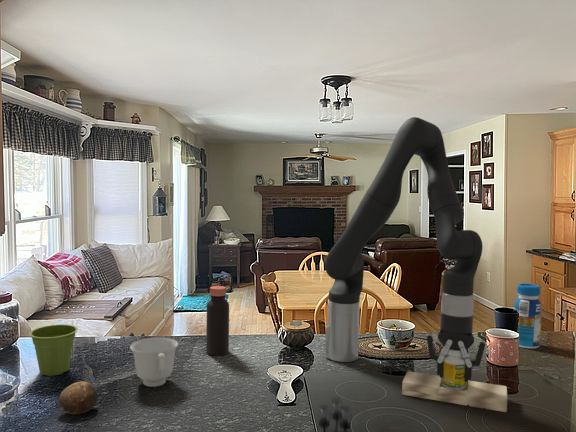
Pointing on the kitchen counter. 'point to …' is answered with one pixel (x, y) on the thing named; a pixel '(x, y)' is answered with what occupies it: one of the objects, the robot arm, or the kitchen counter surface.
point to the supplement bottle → (454, 370)
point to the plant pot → (53, 347)
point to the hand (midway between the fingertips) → (454, 378)
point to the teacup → (154, 359)
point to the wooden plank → (455, 391)
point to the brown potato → (78, 398)
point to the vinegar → (217, 322)
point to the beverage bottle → (528, 315)
